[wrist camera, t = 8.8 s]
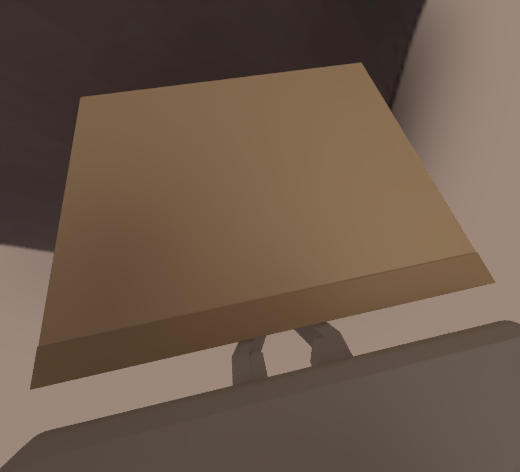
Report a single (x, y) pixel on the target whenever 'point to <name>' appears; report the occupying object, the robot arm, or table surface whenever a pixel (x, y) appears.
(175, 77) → the table surface
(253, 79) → the flap
